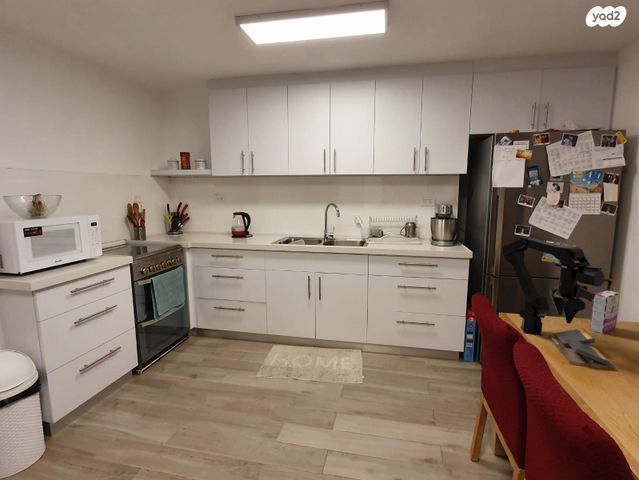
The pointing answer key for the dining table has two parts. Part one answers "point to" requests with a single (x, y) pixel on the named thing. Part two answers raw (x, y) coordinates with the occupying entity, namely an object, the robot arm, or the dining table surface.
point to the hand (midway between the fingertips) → (564, 318)
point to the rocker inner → (575, 336)
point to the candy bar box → (604, 312)
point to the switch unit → (579, 356)
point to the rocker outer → (586, 350)
